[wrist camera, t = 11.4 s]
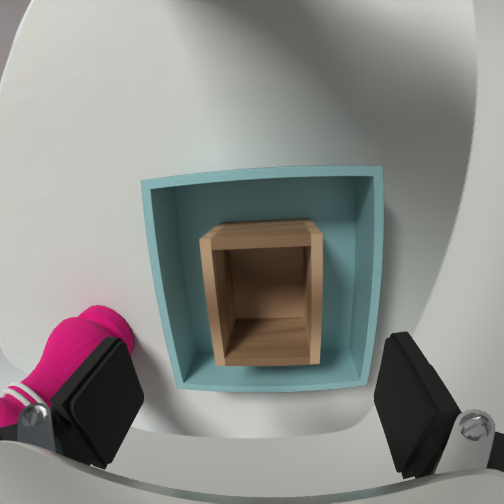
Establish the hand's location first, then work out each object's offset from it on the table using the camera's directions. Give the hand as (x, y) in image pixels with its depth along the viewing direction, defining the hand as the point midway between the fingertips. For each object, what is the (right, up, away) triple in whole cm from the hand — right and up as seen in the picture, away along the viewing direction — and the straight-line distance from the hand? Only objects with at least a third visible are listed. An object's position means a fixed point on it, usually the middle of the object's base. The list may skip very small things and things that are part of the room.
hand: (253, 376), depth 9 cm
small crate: (+1, +3, +12) cm, 13 cm away
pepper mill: (-14, -4, +16) cm, 22 cm away
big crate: (+1, +3, +13) cm, 13 cm away
